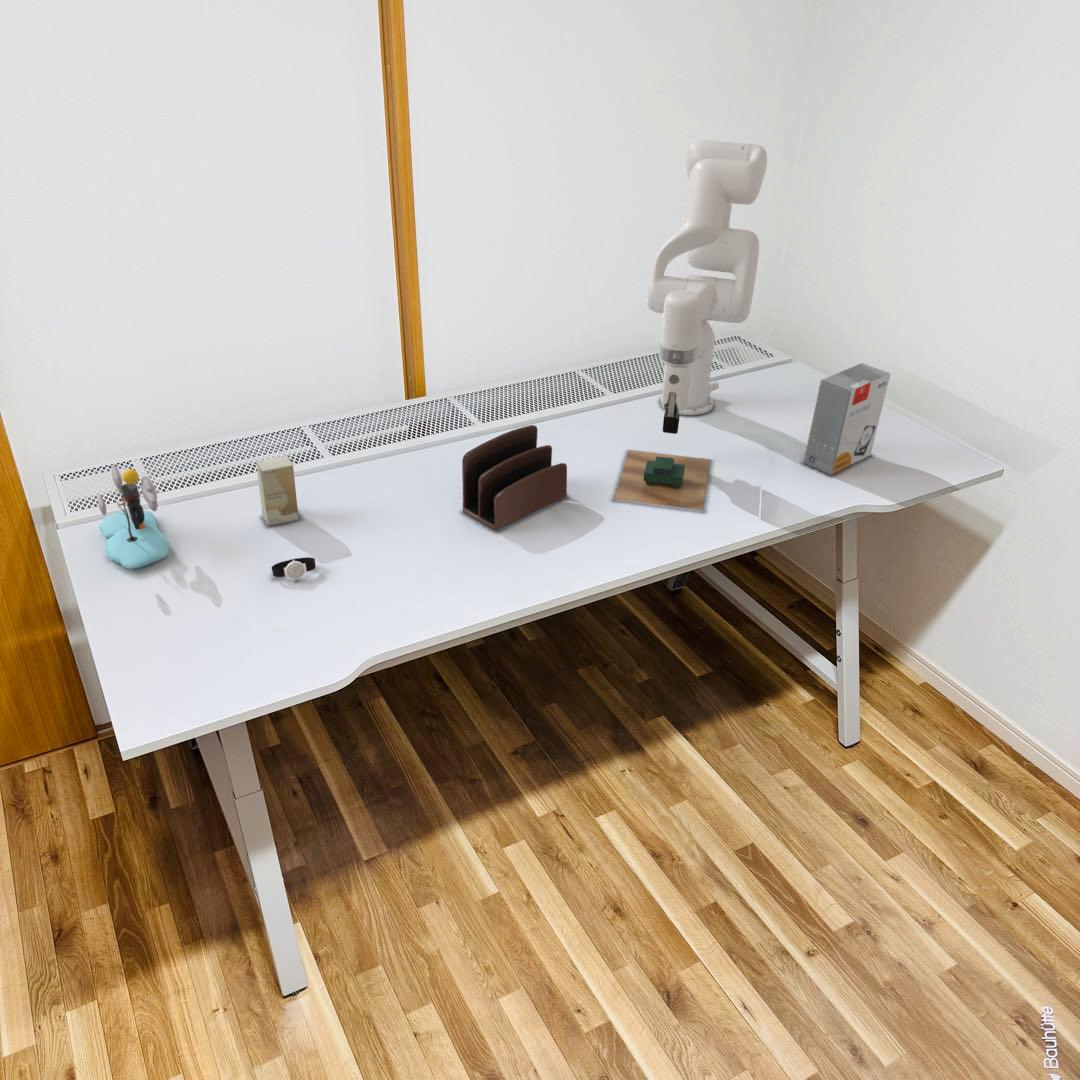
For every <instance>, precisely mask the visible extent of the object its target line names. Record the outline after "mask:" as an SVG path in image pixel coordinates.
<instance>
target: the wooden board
mask: <svg viewBox="0 0 1080 1080" xmlns="http://www.w3.org/2000/svg"><path fill="white" fill-rule="evenodd" d="M656 456H659V457H667V458H674V464H682V465H685V470H684V477H683V482H682V486H680V485H679V488H677V489H673V488H672V487H671V484H664V483H656V482H654V485H652V486H648V485H647V484H646V481H643V480H644V471H645V468H646V464H647V460H649V461H655V459H656ZM710 466H711V459H707V458H700V457H693V456H692V457H690V456H683V455H674V454H665V453H657V452H649V451H641V450H634V449H629V450H628V452H627V455H626V459H625V462H624V465H623V469H622V471H621V472H622V473H621V474H620V475H621V476H620V478H619V482H618V484H617V485H618V486H617V489H616V492H615V495H614V499H613V500H617V501H618V500H620V501H625V502H634V503H642V504H649V505H656V506H657V505H658V506H665V507H671V508H679V509H688V510H695V511H701V512H702V511H704V507H705V500H706V494H707V493H706V492H707V485H708V480H709V479H708V478H709V473H710V472H709V471H710Z"/></svg>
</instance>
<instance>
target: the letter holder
mask: <svg viewBox="0 0 1080 1080" xmlns="http://www.w3.org/2000/svg"><path fill="white" fill-rule="evenodd" d="M538 431H539V430H538V426H537V425H534V424H531V425H530V424H529V425H527V426H522V427H519V428H515V429H512V430H510V431H507V432H504V433H502V434H499V435H498V436H496V437H493V438H491V439H489V440H487V441H485V442H483V443H481V444H479V445H478V446H476V447H474V448H472V449H470V450H469V451H467V452H466V453H465V454H464V455H463V457H462V463H461V465H462V466H461V468H462V471H461V472H462V473H461V474H462V476H461V477H462V479H461V480H462V512H463V514H466V515H468V516H470V517H471V518H473V519H475V520H476V521H478V522H480V523H481V524H483V525H485V526H486V527H488V528H490V529H491V530H493V531H499V530H500V529H503V528H504V527H506V526H508V525H511V524H513V523H516V522H517V521H518V520H520V519H522V518H525V517H527V516H529V515H531V514H533V513H535V512H537V511H539V510H541V509H544V508H546V507H547V506H549V505H551V504H554V503H556V502H557V501H559V500H561V499H564V498H565V497H567V496H568V466H567V463H565V462H561V463H558V464H554V465H553V464H552V462H553V461H552V459H553V456H552V455H553V447H552V446H551V445H550V444H549V445H542V446H539V447H538Z"/></svg>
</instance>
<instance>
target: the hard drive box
mask: <svg viewBox="0 0 1080 1080" xmlns="http://www.w3.org/2000/svg"><path fill="white" fill-rule="evenodd" d="M890 378H891V372H887V371H884V370H882V369H880V368H877V367H874V366H871V365H868V364H865V363H863V362H860V363H859V364H856V365H854V366H851V367H849V368H847V369H843V370H842V371H839V372H837V373H834V374H832V375H829V376H826V377H825V378H822V379H821V380H820V382H819V385H818V386H819V387H818V392H817V396H816V401H815V406H814V410H813V415H812V420H811V424H810V429H809V433H808V438H807V443H806V447H805V452H804V456H803V463H804V464H806V465H808V466H810V467H812V468H814V469H817V470H818V471H821V472H822V473H826V474H827V475H830V476H832V475H834V474H836V473H838V472H841V471H843V470H844V469H846V468H848V467H850V466H852V465H854V464H856V463H858V462H861V461H862V460H864V459H866V458H868V457H870V456H871V455H872V451H873V447H874V443H875V438H876V435H877V431H878V427H879V422H880V418H881V414H882V410H883V406H884V402H885V398H886V393H887V390H888V386H889V381H890Z"/></svg>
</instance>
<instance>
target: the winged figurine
mask: <svg viewBox="0 0 1080 1080" xmlns="http://www.w3.org/2000/svg"><path fill="white" fill-rule="evenodd" d="M111 476H112V481H113V484H114V486H115V487H116V492H118V493H119V492H120V493H119V494H120V498H121V500H122V501H120V503H119V502H116V504H117V505H116V507H118V508H119V509H120V510H122V511H117V512H116V513H113V514H111V515H108V516H107V505H106V502H105V500H104V499H103V496H102V495H101V494H98V495H97V504H98V509H99V511H100V513H101V514H102V515H103V516H106V517H104V519H102V520H101V521H100V523H99V526H98V528H99V531H100V532H101V533H102V535H103V537H104V538H107V540H106V541H105V545H104V546H105V548H104V549H105V553H106V555H107V557H108V558H109V560H111V561H112V562H115V563H117V564H120V565H122V566H123V567H124V568H126V569H131V570H132V569H138V568H139V569H140V568H143V567H146V566H148V565H150V564H153V563H155V562H158V561H160V560H163V559H164V558H167V556H168V555H169V553H170V542H169V540H168V539H167V537H166V536H165V534H164V533H162V532H161V531H160V529H159V528H158V525H157V523H158V519H157V517H156V516H155V514H154V513H153V512H157V511H158V507H159V505H158V504H159V503H158V493H157V490H156V487H155V485H154V483H153V482H152V481H151V479H150V478H149V477H148V476H146V475H143V476H142V477H141V479H140V475H139V473H138V471H136V470H135V469H133V468H129V469H126V470H124V471H123V473H122V475H121V472H120V470H119V469H118V466H117V465H116V464H114V463H113V464H111ZM139 479H140V480H141V481H140V490H141V494H140V491H139V488H138V485H137V483H138V481H139ZM123 482H124V483H123ZM140 495H142V498H143V499H144V500H145V502H146V504H147V506H148V508H149V509H150V510H151V511H150V510H144V508H143V506H142V504H141V498H140ZM122 507H123V508H122ZM126 507H127V508H126Z"/></svg>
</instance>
